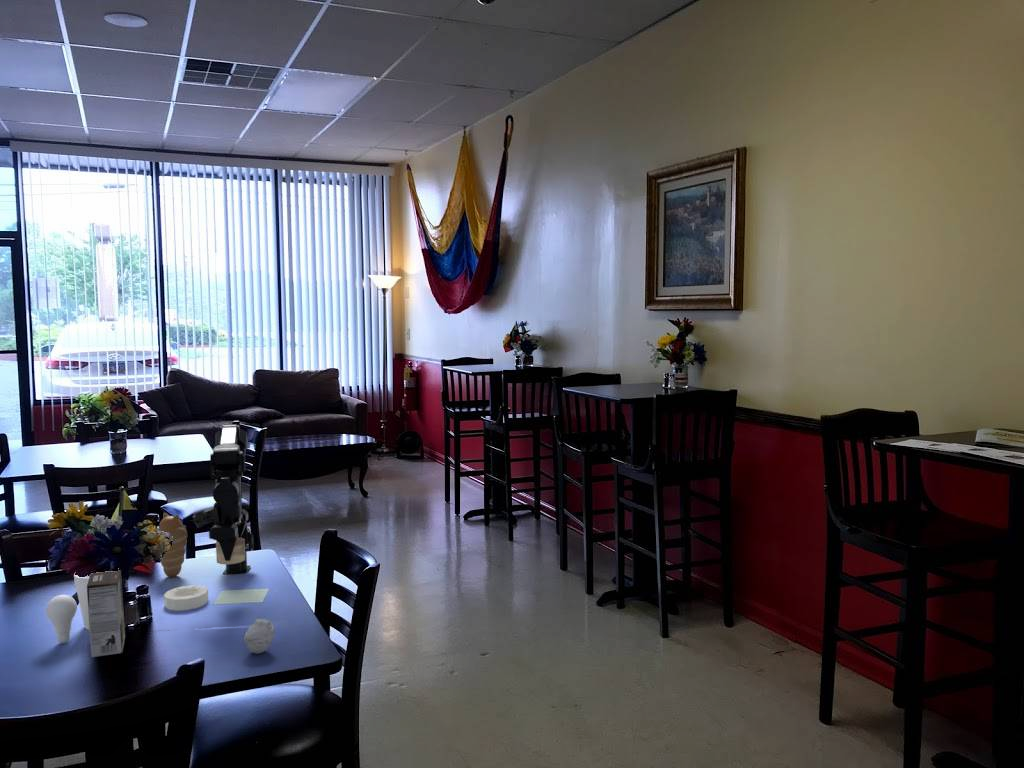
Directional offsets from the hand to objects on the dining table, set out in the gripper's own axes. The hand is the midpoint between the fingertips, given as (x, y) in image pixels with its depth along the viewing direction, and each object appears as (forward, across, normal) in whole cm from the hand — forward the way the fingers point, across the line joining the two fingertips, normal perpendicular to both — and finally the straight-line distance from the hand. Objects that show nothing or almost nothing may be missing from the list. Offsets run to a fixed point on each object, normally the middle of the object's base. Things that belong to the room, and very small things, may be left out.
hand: (230, 556), depth 207 cm
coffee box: (+12, +27, -21) cm, 36 cm away
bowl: (+11, +2, -11) cm, 16 cm away
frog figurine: (+12, +34, +12) cm, 38 cm away
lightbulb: (+12, +22, -32) cm, 41 cm away
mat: (+11, -1, +2) cm, 12 cm away
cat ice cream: (+12, -21, -20) cm, 32 cm away
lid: (+1, 0, 0) cm, 1 cm away
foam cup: (+12, +13, -28) cm, 33 cm away
